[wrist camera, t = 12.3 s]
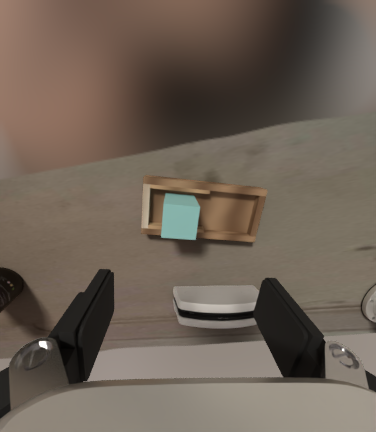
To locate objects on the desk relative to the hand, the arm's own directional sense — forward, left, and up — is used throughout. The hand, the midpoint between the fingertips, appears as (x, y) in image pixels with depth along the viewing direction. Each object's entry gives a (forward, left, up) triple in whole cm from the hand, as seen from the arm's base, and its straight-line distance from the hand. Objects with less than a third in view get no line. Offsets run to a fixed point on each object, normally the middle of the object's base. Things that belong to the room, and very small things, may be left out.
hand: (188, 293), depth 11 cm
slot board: (-4, 0, -20) cm, 21 cm away
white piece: (-9, +17, -21) cm, 28 cm away
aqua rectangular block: (0, 0, -19) cm, 19 cm away
